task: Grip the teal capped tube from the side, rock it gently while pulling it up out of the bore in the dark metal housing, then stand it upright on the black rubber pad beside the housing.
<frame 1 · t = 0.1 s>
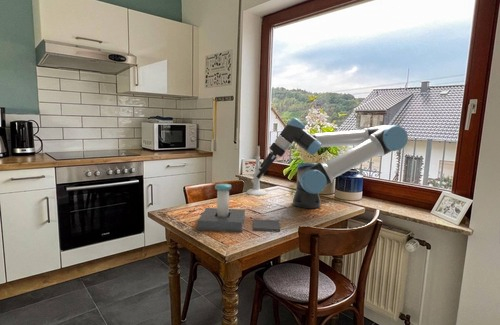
hand: (253, 180, 149), 15 cm above the table, tool tilted 35°, fingers open, 13 cm apart
candlestick: (256, 193, 186), on the table
pad: (266, 226, 127), on the table
teal capped tube: (222, 204, 128), in the housing
housing: (222, 223, 129), on the table
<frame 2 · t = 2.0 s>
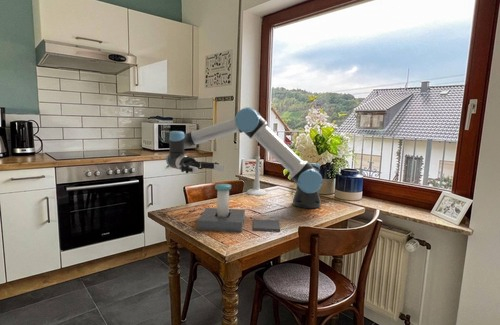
hand: (210, 169, 133), 22 cm above the table, tool horizontal, fingers open, 13 cm apart
nothing on the table moved.
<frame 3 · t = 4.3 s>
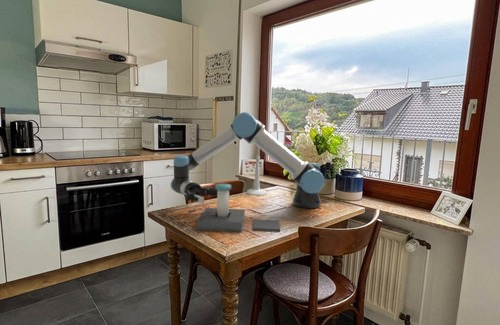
hand: (216, 198, 130), 10 cm above the table, tool horizontal, fingers open, 13 cm apart
nothing on the table moved.
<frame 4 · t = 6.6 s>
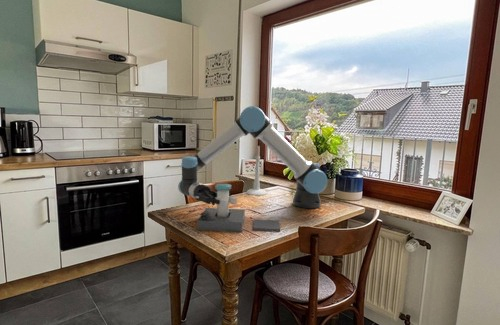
hand: (230, 202, 124), 11 cm above the table, tool horizontal, fingers closed on teal capped tube, 5 cm apart
teal capped tube: (222, 204, 128), in the housing, touching gripper
everything else where it was.
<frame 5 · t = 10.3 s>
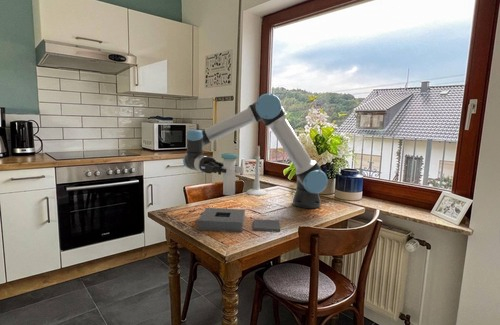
hand: (237, 171, 121), 24 cm above the table, tool horizontal, fingers closed on teal capped tube, 5 cm apart
teal capped tube: (229, 174, 126), point 22 cm above the table, touching gripper
everything else where it was.
when the fingers open (13 cm above the table, at t = 14.4 s): teal capped tube drops 1 cm, resting on pad.
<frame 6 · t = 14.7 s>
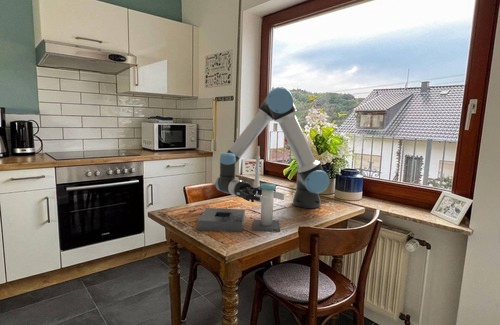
hand: (275, 198, 122), 13 cm above the table, tool horizontal, fingers open, 9 cm apart
teal capped tube: (267, 204, 126), on the pad, point 10 cm above the table
everything else where it was.
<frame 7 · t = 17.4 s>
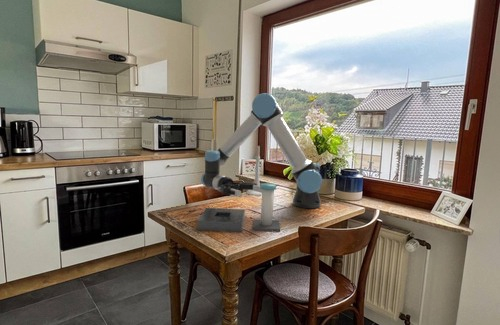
hand: (252, 192, 132), 13 cm above the table, tool horizontal, fingers open, 13 cm apart
nothing on the table moved.
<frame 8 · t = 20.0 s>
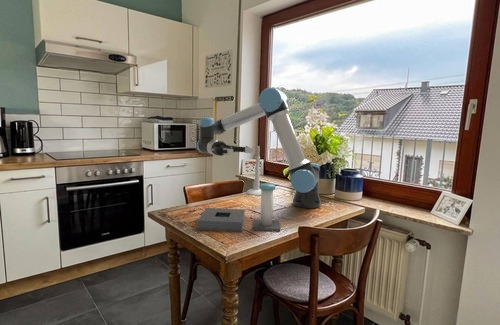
hand: (243, 151, 140), 30 cm above the table, tool horizontal, fingers open, 13 cm apart
nothing on the table moved.
at the end: teal capped tube inside the target area on the pad (0.0 cm from its centre), point 9.5 cm above the pad's base; teal capped tube tilted 1°; the gripper is holding nothing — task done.
